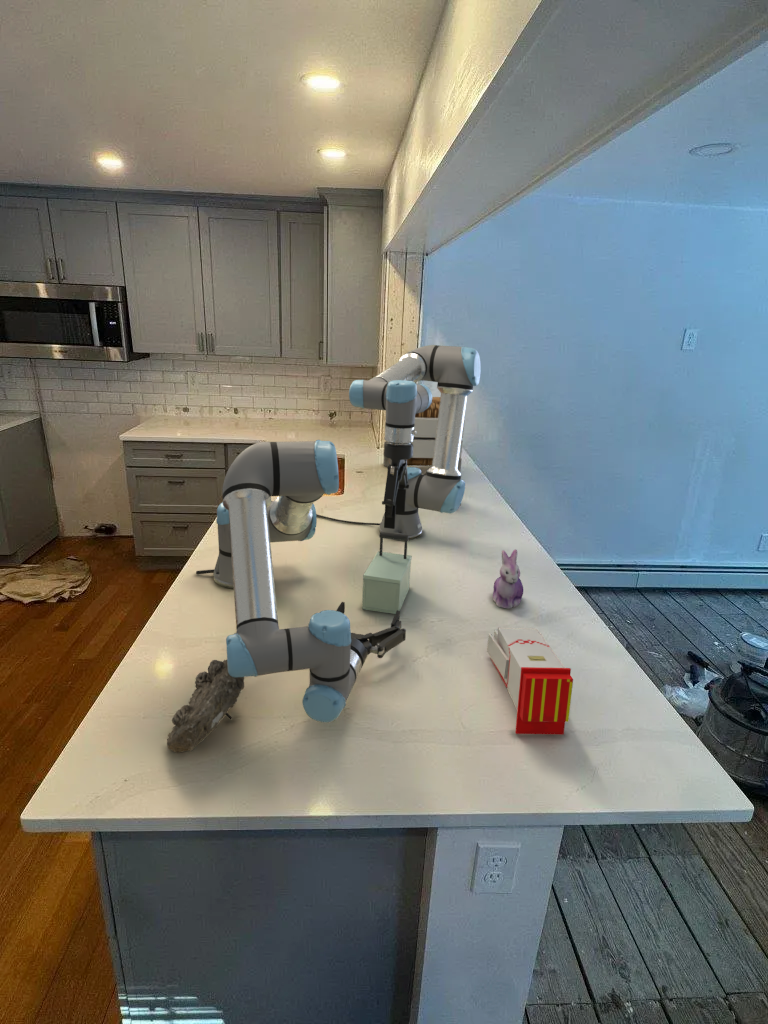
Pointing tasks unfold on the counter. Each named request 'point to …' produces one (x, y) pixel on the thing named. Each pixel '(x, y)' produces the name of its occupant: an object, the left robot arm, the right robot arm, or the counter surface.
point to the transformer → (425, 437)
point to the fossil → (205, 707)
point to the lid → (389, 562)
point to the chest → (385, 594)
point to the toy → (532, 679)
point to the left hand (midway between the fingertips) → (370, 611)
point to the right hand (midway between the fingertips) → (394, 519)
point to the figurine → (508, 583)
